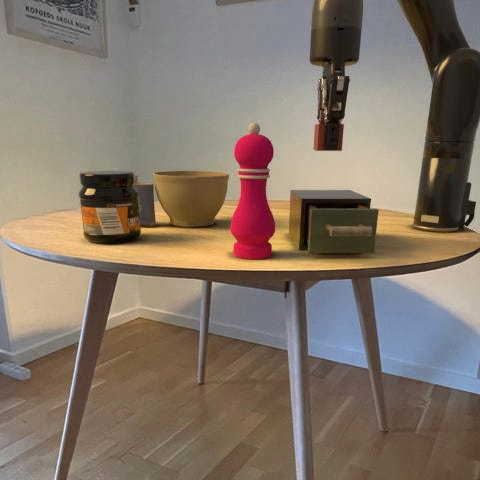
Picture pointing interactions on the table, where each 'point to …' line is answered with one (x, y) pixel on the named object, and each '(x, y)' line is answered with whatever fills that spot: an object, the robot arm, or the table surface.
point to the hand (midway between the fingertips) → (327, 148)
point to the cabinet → (316, 197)
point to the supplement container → (109, 206)
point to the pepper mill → (253, 197)
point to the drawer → (340, 228)
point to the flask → (146, 203)
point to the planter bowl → (191, 195)
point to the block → (320, 137)
